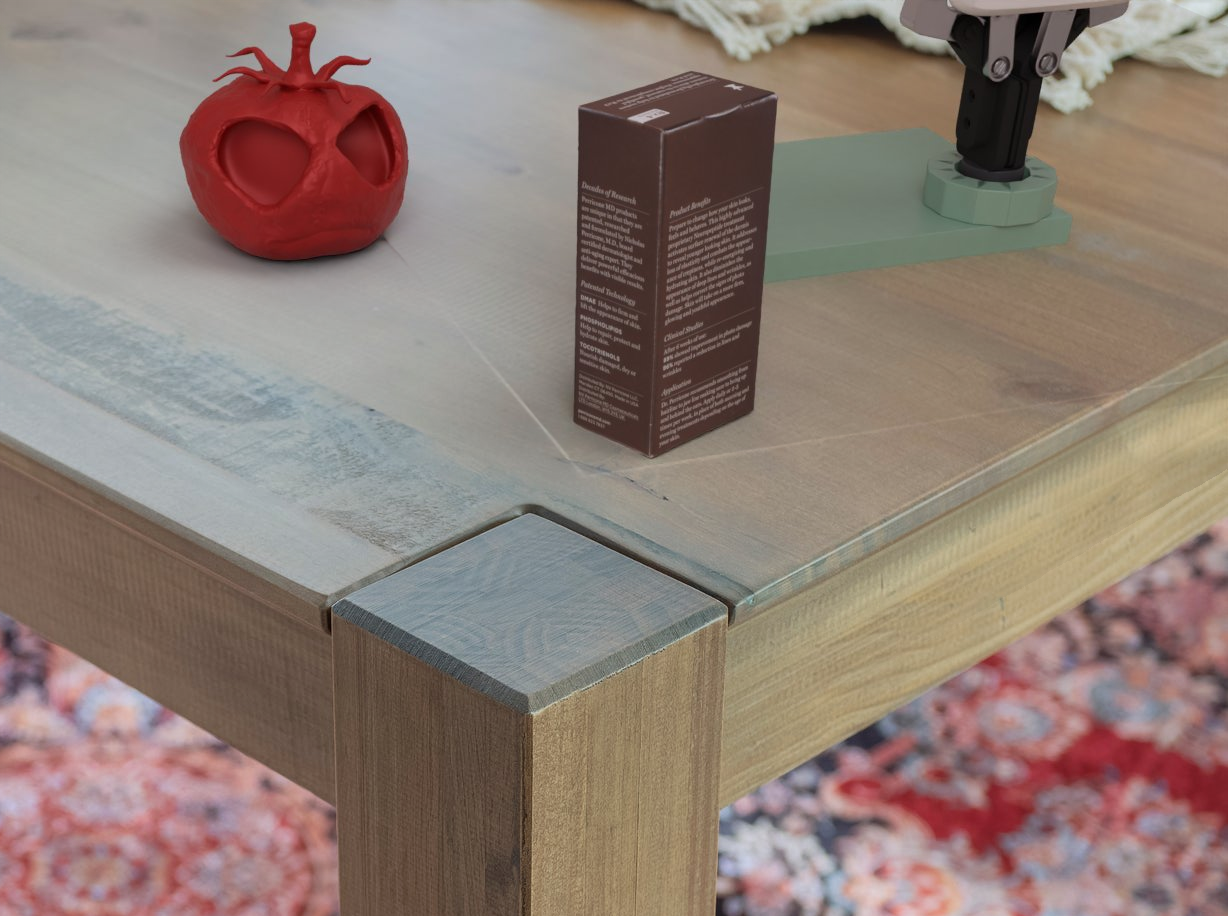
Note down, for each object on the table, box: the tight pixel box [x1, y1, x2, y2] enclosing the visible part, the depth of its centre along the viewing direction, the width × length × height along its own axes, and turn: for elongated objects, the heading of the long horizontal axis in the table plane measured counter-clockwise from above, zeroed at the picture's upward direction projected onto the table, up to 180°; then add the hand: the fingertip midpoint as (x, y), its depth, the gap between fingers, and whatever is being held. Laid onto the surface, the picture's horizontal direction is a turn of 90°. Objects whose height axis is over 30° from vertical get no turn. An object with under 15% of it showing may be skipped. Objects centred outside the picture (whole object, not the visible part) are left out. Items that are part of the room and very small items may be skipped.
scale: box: [763, 126, 1074, 285], centre depth 88 cm, size 16×13×3 cm
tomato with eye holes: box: [178, 21, 410, 261], centre depth 83 cm, size 10×10×9 cm
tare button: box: [960, 156, 1025, 183], centre depth 86 cm, size 3×3×2 cm
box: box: [573, 70, 779, 459], centre depth 68 cm, size 6×4×12 cm
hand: (988, 159), depth 86 cm, fingers closed
